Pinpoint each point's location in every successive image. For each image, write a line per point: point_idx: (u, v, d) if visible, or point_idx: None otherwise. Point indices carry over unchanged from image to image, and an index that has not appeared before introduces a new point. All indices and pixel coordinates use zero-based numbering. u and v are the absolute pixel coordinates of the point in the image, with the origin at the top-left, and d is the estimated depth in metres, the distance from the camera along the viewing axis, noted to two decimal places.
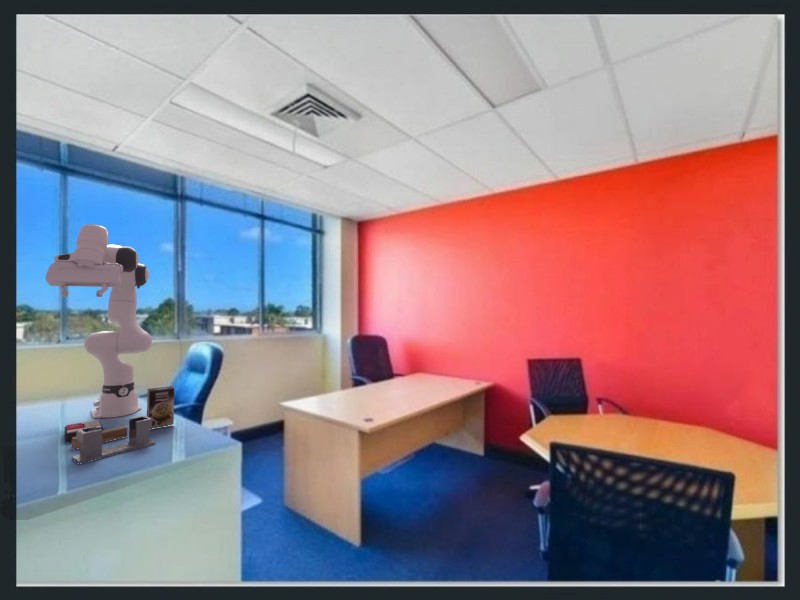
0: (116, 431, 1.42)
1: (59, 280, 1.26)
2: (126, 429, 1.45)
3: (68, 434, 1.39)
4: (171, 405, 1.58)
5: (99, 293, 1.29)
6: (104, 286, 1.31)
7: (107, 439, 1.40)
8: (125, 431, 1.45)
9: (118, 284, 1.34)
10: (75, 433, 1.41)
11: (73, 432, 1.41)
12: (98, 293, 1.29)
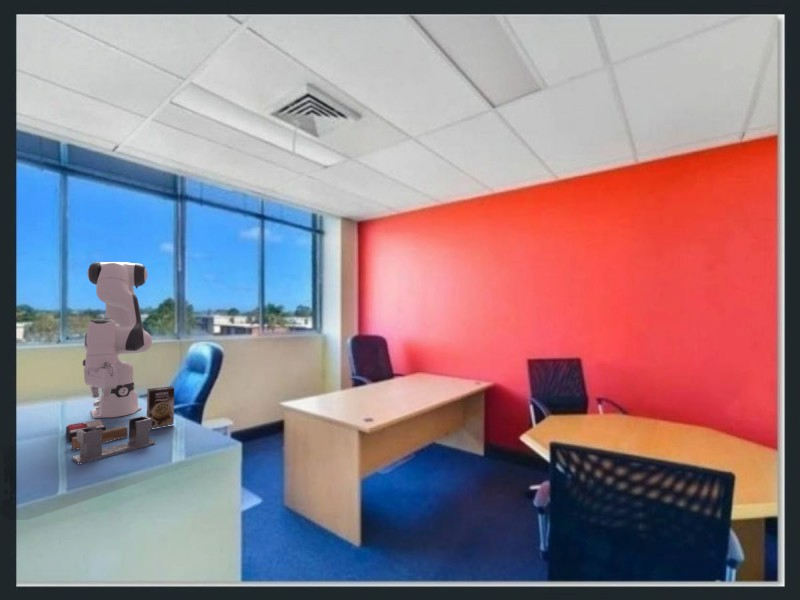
0: (116, 431, 1.42)
1: (88, 384, 1.41)
2: (126, 429, 1.45)
3: (72, 434, 1.40)
4: (171, 405, 1.58)
5: (102, 399, 1.36)
6: (103, 392, 1.35)
7: (107, 439, 1.40)
8: (125, 431, 1.45)
9: (111, 388, 1.34)
10: None
11: None
12: (102, 399, 1.36)
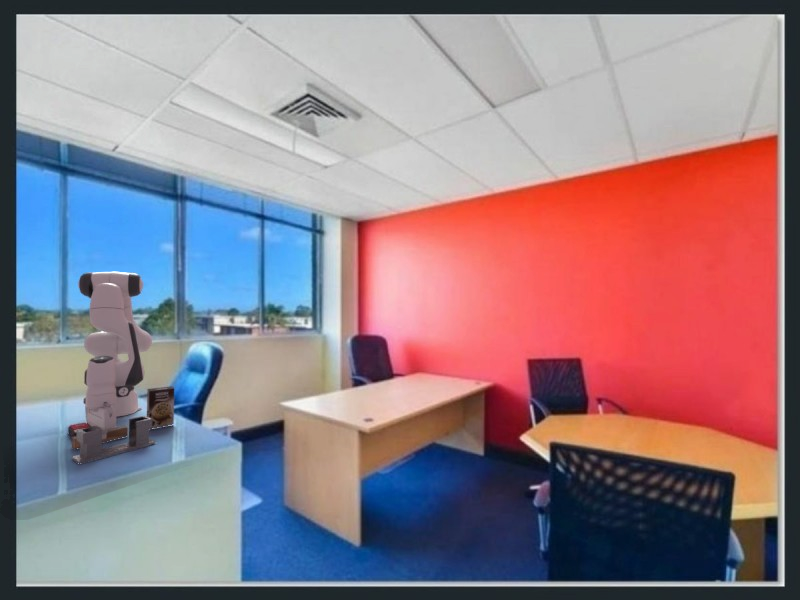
0: (116, 431, 1.42)
1: (89, 422, 1.42)
2: (126, 429, 1.45)
3: (76, 433, 1.40)
4: (171, 405, 1.58)
5: None
6: None
7: (107, 439, 1.40)
8: (125, 431, 1.45)
9: (110, 429, 1.34)
10: None
11: None
12: None
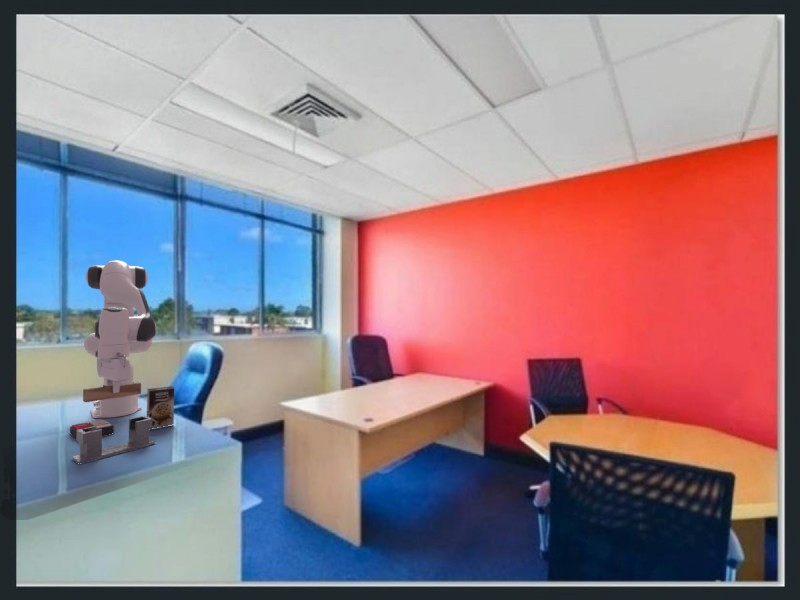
0: (129, 386, 1.35)
1: (101, 376, 1.34)
2: (139, 385, 1.37)
3: None
4: (171, 405, 1.58)
5: (112, 391, 1.30)
6: (113, 383, 1.29)
7: (120, 393, 1.32)
8: (138, 387, 1.37)
9: (124, 380, 1.27)
10: None
11: None
12: (112, 391, 1.30)
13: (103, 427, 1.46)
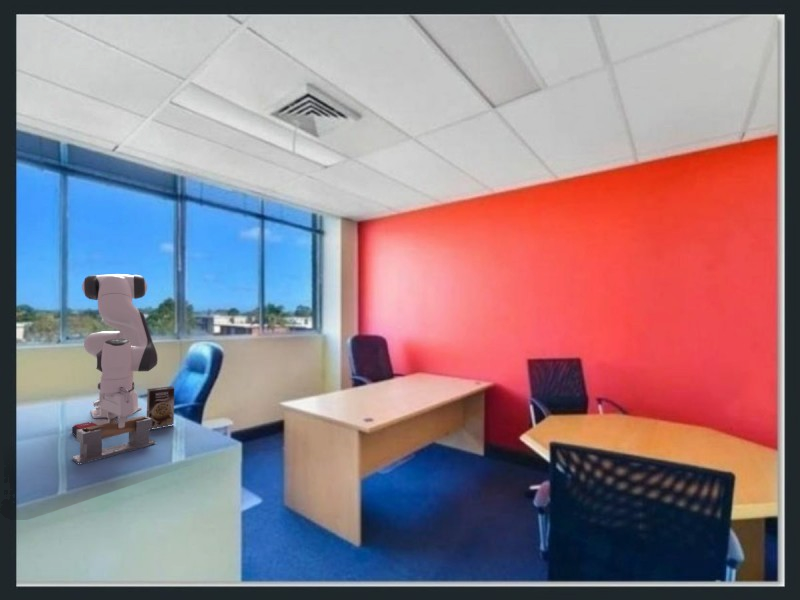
0: (132, 421, 1.34)
1: (104, 409, 1.33)
2: (142, 419, 1.36)
3: None
4: (171, 405, 1.58)
5: (118, 426, 1.28)
6: (119, 419, 1.27)
7: (123, 430, 1.32)
8: None
9: (127, 415, 1.26)
10: None
11: None
12: (117, 426, 1.28)
13: None
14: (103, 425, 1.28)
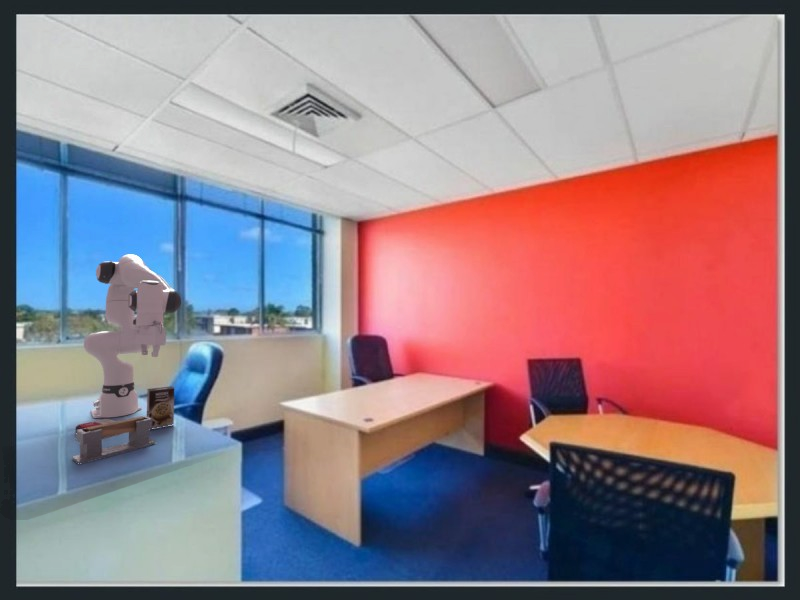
0: (132, 421, 1.34)
1: (138, 342, 1.51)
2: (142, 419, 1.36)
3: None
4: (171, 405, 1.58)
5: (152, 355, 1.45)
6: (153, 348, 1.44)
7: (123, 430, 1.32)
8: None
9: (161, 344, 1.43)
10: None
11: None
12: (152, 355, 1.45)
13: None
14: (103, 425, 1.28)
